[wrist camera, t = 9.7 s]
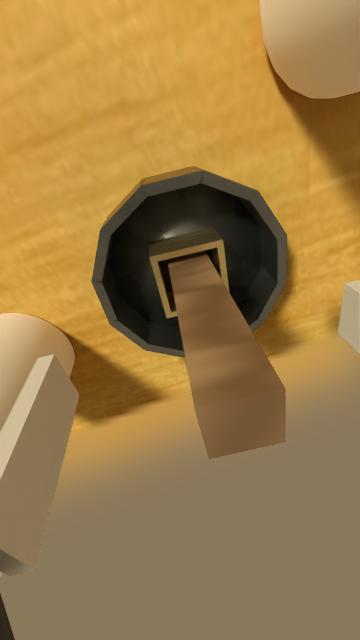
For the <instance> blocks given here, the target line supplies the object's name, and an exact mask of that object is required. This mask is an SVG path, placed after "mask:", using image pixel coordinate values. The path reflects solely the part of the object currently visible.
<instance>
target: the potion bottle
mask: <svg viewBox="0 0 360 640" xmlns="http://www.w3.org/2000/svg"><path fill="white" fill-rule="evenodd" d="M260 15H261V24H262V33H263V42H264V45H265V47H266V50H267V53H268V55H269V58H270V60H271V63H272V66H273V68H274V70H275V71H276V73H277V74H278V75H279V76H280V77H281V79H282V80H283V81H284V82H285V83H286V84H287V86H288V87H289V88H290V89H292V90H294V91H296V92H298V93H300V94H302V95H304V96H306V97H309V98H337V97H341V96H345V95H349V94H353V93H356V92H360V0H260Z"/></svg>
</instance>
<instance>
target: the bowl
mask: <svg viewBox="0 0 360 640" xmlns="http://www.w3.org/2000/svg"><path fill="white" fill-rule="evenodd" d="M204 250H205V252H206V254H207V255H208V257H209V259H210V260H211V262H212V264H213V266H214V267H215V269H216V271H217V272H218V274H219V276H220V278H221V279H222V281H223V283H224V284H225V286H226V288H227V290H228V291H229V293H230V295H231V296H232V298H233V300H234V302H235V303H236V305H237V307H238V308H239V310H240V312H241V314H242V315H243V317H244V319H245V320H246V322H247V324H248V326H249V327H250V329H251V331H253V330H255V329H256V328H257V327H259V326H260V325H262V324H263V322H265V320H266V318H267V316H268V315H269V313H270V311H271V309H272V308H273V306H274V304H275V302H276V301H277V299H278V297H279V295H280V294H281V292H282V290H283V288H284V287H285V285H286V277H287V234H286V233H285V231H284V230H283V228H282V227H281V225H280V223H279V222H278V220H277V219H276V217H275V216H274V214H273V213H272V211H271V210H270V208H269V207H268V205H267V204H266V202H265V200H264V199H263V197H262V196H261V194H260V193H259V192H258V191H257V190H255V189H252V188H249V187H247V186H244V185H242V184H239V183H237V182H234V181H231V180H229V179H226V178H223V177H221V176H218V175H216V174H213V173H210V172H208V171H205V170H202V169H200V168H197V167H193V166H192V167H188V168H184V169H180V170H176V171H172V172H168V173H164V174H160V175H156V176H152V177H148V178H144V179H143V180H141V181H140V182H139V183H138V184H137V185H136V186H135V188H134V189H133V190H132V191H131V192H130V193H129V194H128V195H127V196H126V197H125V198H124V199H123V201H122V202H121V203H120V204H119V205H118V206H117V207H116V208H115V209H114V210H113V211H112V212H111V214H110V215H109V216H108V217H107V219H106V221H105V223H104V224H103V226H102V228H101V230H100V234H99V240H98V246H97V252H96V258H95V264H94V270H93V276H92V284H93V286H94V289H95V291H96V293H97V296H98V298H99V300H100V302H101V305H102V307H103V309H104V312H105V314H106V316H107V319H108V321H109V323H110V325H112V326H113V327H114V328H116V329H117V330H118V331H120V332H121V333H122V334H124V335H125V336H126V337H128V338H129V339H130V340H132V341H133V342H134V343H136V344H137V345H138V346H140V347H141V348H142V349H144V350H146V351H152V352H157V353H162V354H168V355H173V356H178V357H184V358H185V353H184V348H183V342H182V337H181V331H180V326H179V320H178V315H177V310H176V304H175V299H174V293H173V288H172V282H171V277H170V272H169V266H168V261H167V259H170V258H175V257H179V256H183V255H187V254H191V253H195V252H200V251H204Z"/></svg>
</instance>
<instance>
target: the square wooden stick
mask: <svg viewBox="0 0 360 640" xmlns="http://www.w3.org/2000/svg"><path fill="white" fill-rule="evenodd" d="M167 261H168V266H169V272H170V277H171V282H172V288H173V293H174V299H175V304H176V310H177V315H178V320H179V326H180V331H181V337H182V342H183V348H184V353H185V358H186V364H187V369H188V375H189V380H190V386H191V391H192V396H193V402H194V407H195V412H196V415H197V418H198V422H199V426H200V429H201V433H202V436H203V440H204V443H205V447H206V450H207V454H208V457H209V459H211V458H215V457H220V456H225V455H229V454H234V453H238V452H242V451H247V450H251V449H256V448H260V447H264V446H269V445H273V444H278V443H283V442H285V387H284V386H283V384H282V382H281V380H280V379H279V377H278V375H277V374H276V372H275V370H274V369H273V367H272V365H271V364H270V362H269V360H268V358H267V356H266V355H265V353H264V351H263V350H262V348H261V346H260V344H259V343H258V341H257V339H256V338H255V336H254V334H253V332H252V331H251V329H250V327H249V326H248V324H247V322H246V320H245V319H244V317H243V315H242V314H241V312H240V310H239V308H238V307H237V305H236V303H235V302H234V300H233V298H232V296H231V295H230V293H229V291H228V290H227V288H226V286H225V284H224V283H223V281H222V279H221V278H220V276H219V274H218V272H217V271H216V269H215V267H214V266H213V264H212V262H211V260H210V259H209V257H208V255H207V254H206V252H205V250H204V251H200V252H195V253H191V254H187V255H183V256H179V257H175V258H170V259H167Z"/></svg>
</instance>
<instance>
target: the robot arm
mask: <svg viewBox="0 0 360 640" xmlns="http://www.w3.org/2000/svg"><path fill="white" fill-rule="evenodd" d="M338 334H339V335H340V336H341V337H342V338H343V339H344V340H346V342H347V343H348V344H349V345H350V346H352V347H353V348H354V349H355V350H356V351H357V352H358V353H359V354H360V280H358V281H354V282H350V283H346V284H345V286H344V293H343V300H342V307H341V313H340V320H339V327H338ZM79 396H80V395H79V393H78V391H77V390H76V388H75V387H74V385H73V383H72V382H71V380H70V379H69V377H68V375H67V374H66V372H65V370H64V369H63V367H62V366H61V364H60V362H59V361H58V359H57V358H56V356H55V354H53V355H48V356H44V357H40V358H37V360H36V362H35V364H34V366H33V368H32V370H31V372H30V374H29V376H28V378H27V380H26V382H25V384H24V386H23V388H22V390H21V392H20V394H19V396H18V398H17V400H16V402H15V404H14V406H13V408H12V410H11V412H10V414H9V416H8V418H7V420H6V422H5V424H4V426H3V428H2V430H1V432H0V571H1V572H3V573H5V574H7V575H9V576H12V575H16V574H21V573H25V572H30V571H34V570H35V569H36V565H37V561H38V557H39V553H40V549H41V545H42V541H43V538H44V533H45V530H46V526H47V522H48V518H49V514H50V510H51V506H52V502H53V498H54V494H55V490H56V487H57V483H58V478H59V475H60V471H61V467H62V463H63V459H64V455H65V451H66V447H67V443H68V439H69V436H70V432H71V428H72V424H73V420H74V416H75V412H76V408H77V404H78V400H79ZM0 640H15V639H14V636H13V633H12V630H11V626H10V623H9V620H8V617H7V613H6V610H5V607H4V604H3V601H2V597H1V594H0Z"/></svg>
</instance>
